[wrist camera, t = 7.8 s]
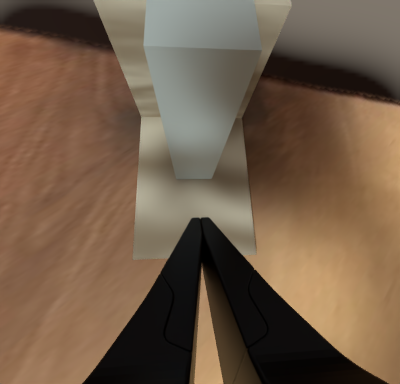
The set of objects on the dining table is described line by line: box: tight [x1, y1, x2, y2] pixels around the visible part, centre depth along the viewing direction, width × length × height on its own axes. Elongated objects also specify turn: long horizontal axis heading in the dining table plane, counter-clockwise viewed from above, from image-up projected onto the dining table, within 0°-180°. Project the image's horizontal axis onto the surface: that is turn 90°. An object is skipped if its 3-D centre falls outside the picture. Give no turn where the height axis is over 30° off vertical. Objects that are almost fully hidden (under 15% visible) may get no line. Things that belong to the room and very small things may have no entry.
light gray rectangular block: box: [143, 0, 262, 179], centre depth 11 cm, size 6×4×12 cm
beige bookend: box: [94, 0, 292, 260], centre depth 12 cm, size 16×11×10 cm
